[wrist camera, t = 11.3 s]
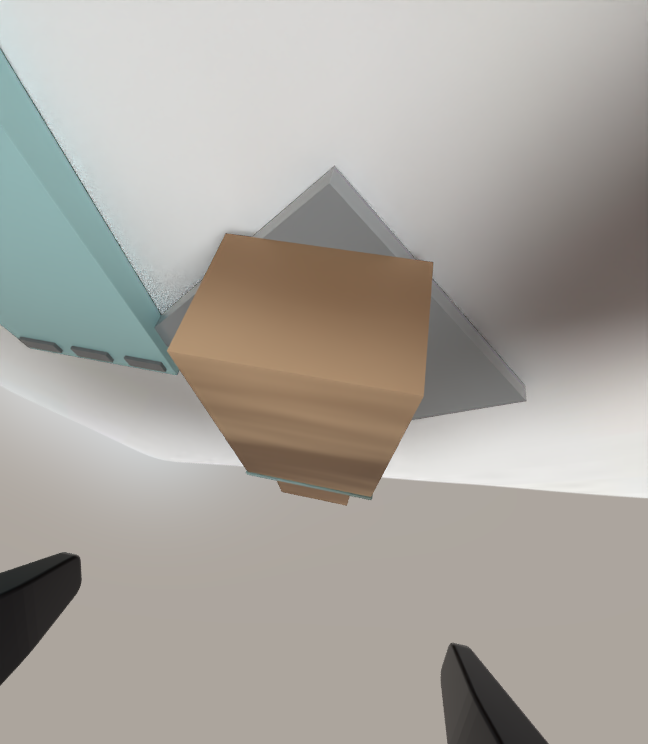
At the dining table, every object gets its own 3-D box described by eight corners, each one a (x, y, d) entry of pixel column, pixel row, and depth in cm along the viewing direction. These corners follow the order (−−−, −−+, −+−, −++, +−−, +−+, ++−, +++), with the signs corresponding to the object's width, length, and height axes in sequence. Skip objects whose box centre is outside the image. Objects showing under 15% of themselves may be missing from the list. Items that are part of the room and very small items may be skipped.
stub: (360, 519, 19) (426, 398, 7) (264, 499, 19) (163, 352, 7) (370, 452, 21) (435, 260, 8) (281, 435, 21) (224, 232, 9)
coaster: (152, 322, 14) (145, 334, 14) (334, 165, 8) (329, 182, 7) (327, 423, 20) (325, 434, 20) (525, 385, 13) (526, 400, 13)
